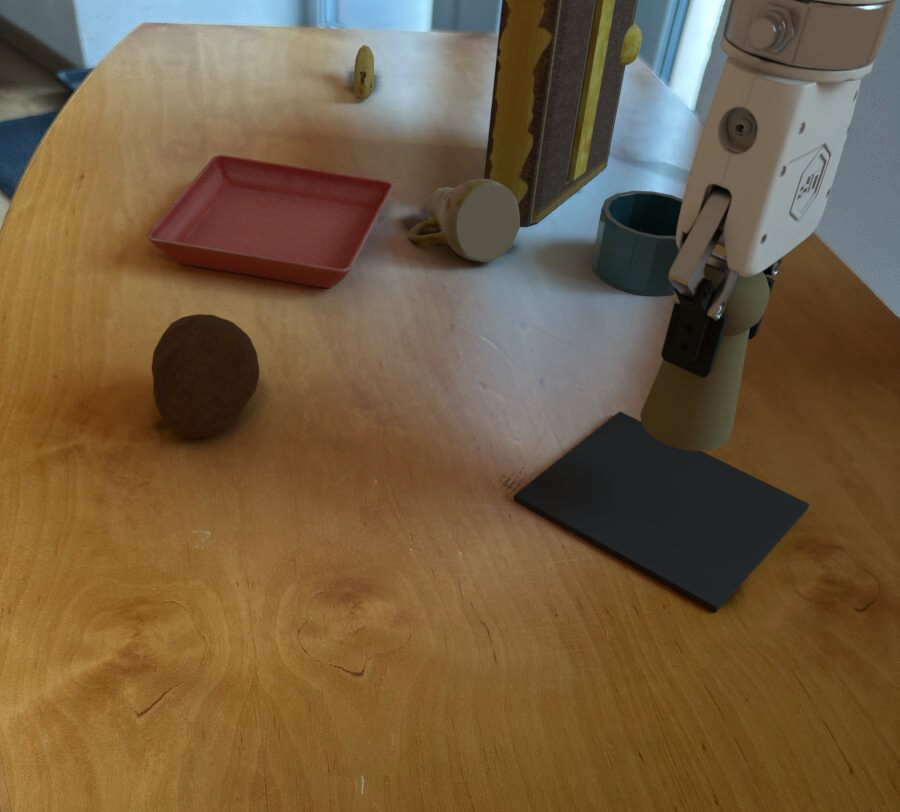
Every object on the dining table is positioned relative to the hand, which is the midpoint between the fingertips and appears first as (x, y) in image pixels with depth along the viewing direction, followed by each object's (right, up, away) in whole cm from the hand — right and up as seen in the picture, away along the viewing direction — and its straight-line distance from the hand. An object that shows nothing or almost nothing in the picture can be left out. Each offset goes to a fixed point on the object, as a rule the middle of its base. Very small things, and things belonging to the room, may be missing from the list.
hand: (709, 345), depth 63 cm
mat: (-1, -9, +9) cm, 13 cm away
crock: (+2, +15, +33) cm, 37 cm away
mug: (-15, +18, +34) cm, 42 cm away
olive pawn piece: (-1, -4, +4) cm, 6 cm away
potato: (-34, -2, +12) cm, 36 cm away
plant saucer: (-32, +17, +32) cm, 48 cm away
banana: (-26, +45, +60) cm, 79 cm away
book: (-6, +28, +46) cm, 54 cm away
